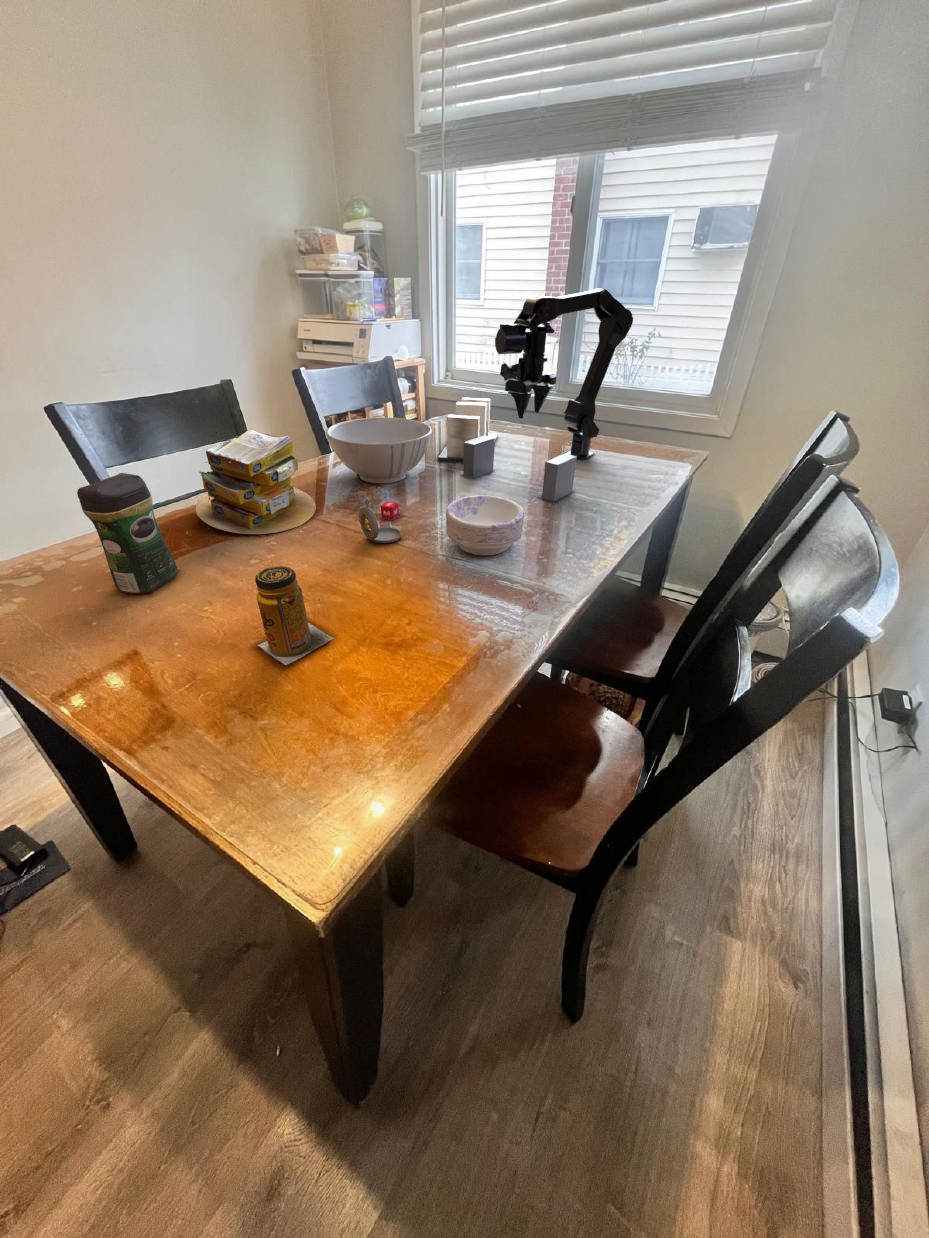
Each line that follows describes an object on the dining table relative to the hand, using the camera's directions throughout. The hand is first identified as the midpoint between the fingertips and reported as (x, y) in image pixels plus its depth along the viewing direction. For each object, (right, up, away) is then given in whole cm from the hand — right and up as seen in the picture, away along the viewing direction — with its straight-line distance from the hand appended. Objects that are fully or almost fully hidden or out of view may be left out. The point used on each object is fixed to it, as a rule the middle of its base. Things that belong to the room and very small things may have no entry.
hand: (528, 415), depth 144 cm
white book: (-16, -2, +18) cm, 24 cm away
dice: (-35, -34, -28) cm, 56 cm away
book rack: (-16, -3, +18) cm, 25 cm away
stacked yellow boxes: (-64, -33, -27) cm, 77 cm away
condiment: (-43, -61, -67) cm, 100 cm away
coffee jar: (-74, -51, -53) cm, 104 cm away
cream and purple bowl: (-14, -42, -39) cm, 59 cm away
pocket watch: (-35, -40, -37) cm, 65 cm away
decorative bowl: (-40, -18, -5) cm, 44 cm away
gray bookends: (-4, -21, -8) cm, 23 cm away
